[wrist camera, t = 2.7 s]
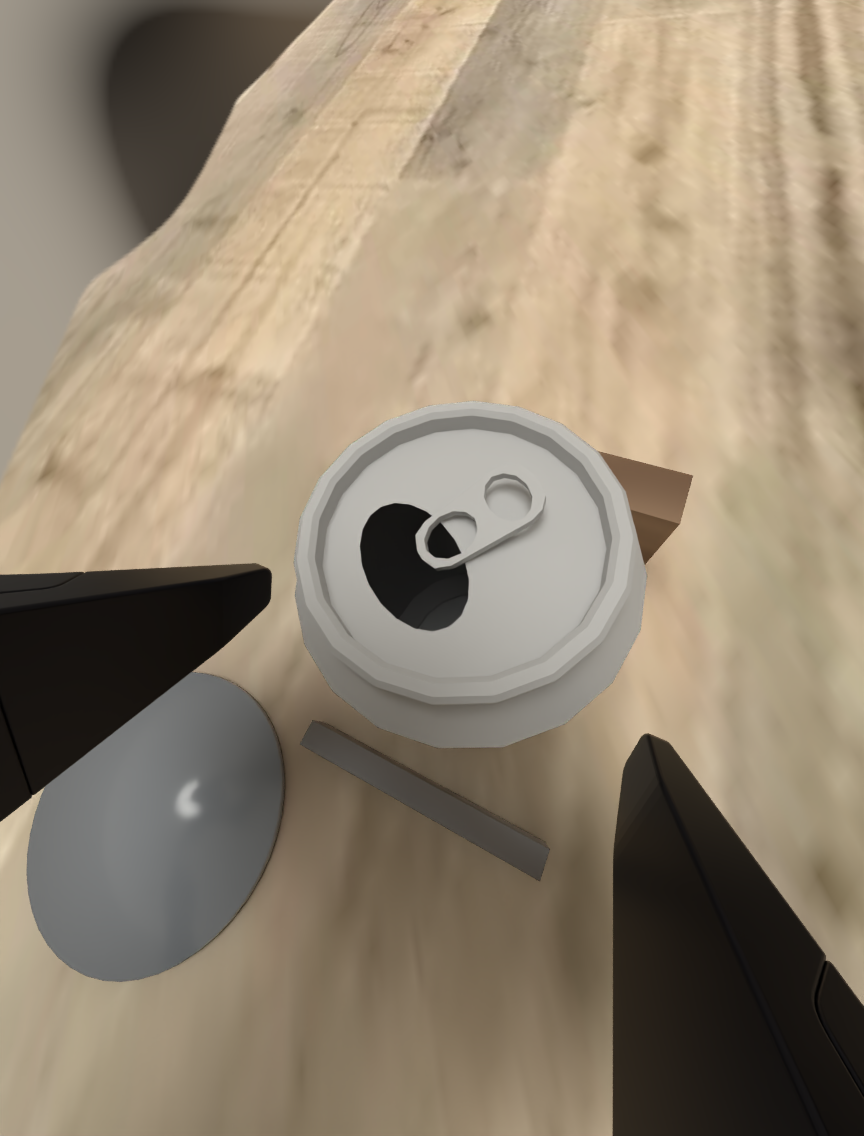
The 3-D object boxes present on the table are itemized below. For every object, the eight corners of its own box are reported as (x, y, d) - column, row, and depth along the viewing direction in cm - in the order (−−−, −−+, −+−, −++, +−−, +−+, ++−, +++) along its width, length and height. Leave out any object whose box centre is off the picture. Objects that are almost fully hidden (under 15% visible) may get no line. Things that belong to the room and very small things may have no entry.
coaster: (271, 971, 14) (265, 978, 14) (-4, 979, 15) (-15, 985, 15) (293, 663, 19) (290, 661, 19) (80, 684, 20) (73, 683, 20)
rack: (536, 871, 15) (564, 945, 9) (311, 744, 17) (231, 743, 12) (634, 553, 19) (692, 475, 14) (442, 492, 22) (427, 407, 16)
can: (367, 626, 19) (211, 470, 8) (502, 553, 20) (520, 321, 9) (441, 784, 16) (344, 861, 5) (598, 691, 17) (800, 590, 6)
